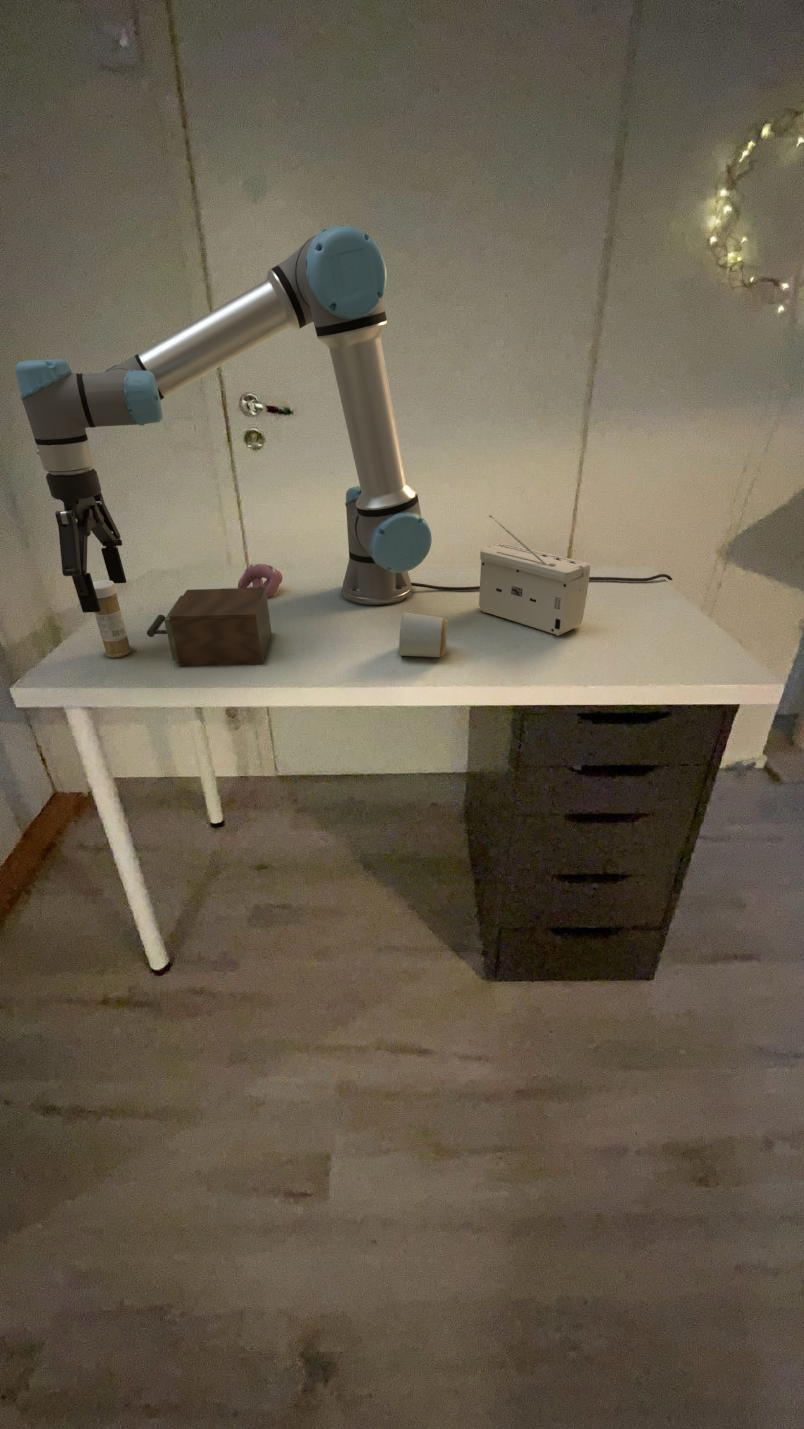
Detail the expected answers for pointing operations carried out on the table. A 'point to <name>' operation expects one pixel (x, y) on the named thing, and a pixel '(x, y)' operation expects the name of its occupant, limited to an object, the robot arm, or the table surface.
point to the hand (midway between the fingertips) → (106, 596)
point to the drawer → (168, 631)
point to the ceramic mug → (422, 635)
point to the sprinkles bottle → (111, 620)
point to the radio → (533, 587)
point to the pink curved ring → (255, 576)
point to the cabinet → (221, 627)
